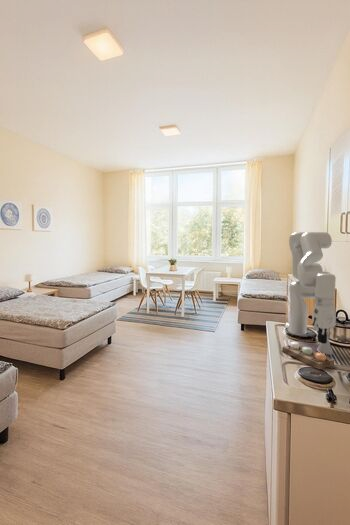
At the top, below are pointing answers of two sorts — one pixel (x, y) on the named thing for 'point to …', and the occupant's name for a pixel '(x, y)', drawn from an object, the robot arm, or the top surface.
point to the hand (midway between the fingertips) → (321, 342)
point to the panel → (307, 357)
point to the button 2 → (307, 351)
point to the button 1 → (294, 345)
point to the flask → (325, 347)
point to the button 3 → (320, 357)
